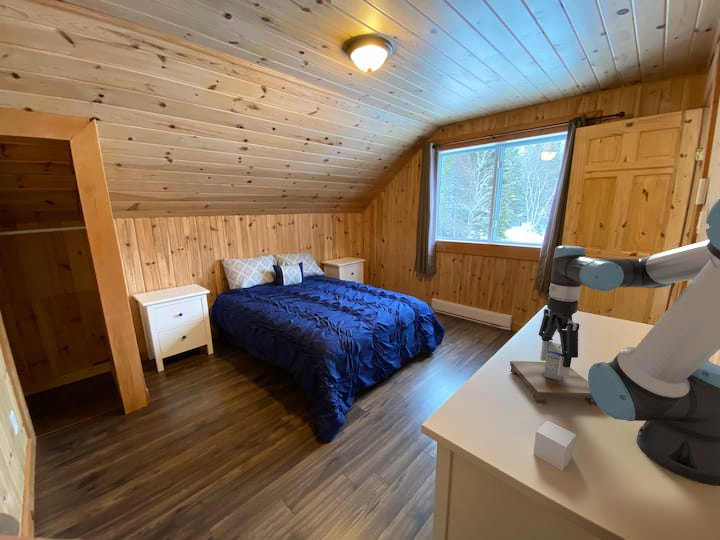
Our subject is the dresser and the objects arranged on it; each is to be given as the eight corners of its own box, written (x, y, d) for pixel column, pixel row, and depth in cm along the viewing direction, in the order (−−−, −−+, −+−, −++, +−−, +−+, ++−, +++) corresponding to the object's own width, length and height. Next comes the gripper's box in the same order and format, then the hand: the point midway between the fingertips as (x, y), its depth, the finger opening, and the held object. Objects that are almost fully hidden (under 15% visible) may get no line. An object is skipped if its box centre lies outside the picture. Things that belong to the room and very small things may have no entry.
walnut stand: (600, 406, 87) (602, 393, 87) (536, 404, 88) (538, 391, 87) (562, 373, 105) (564, 362, 104) (509, 371, 106) (510, 361, 105)
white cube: (572, 457, 69) (576, 434, 68) (562, 471, 66) (566, 447, 65) (543, 442, 74) (547, 420, 73) (533, 454, 70) (536, 431, 69)
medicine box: (544, 366, 100) (548, 341, 98) (560, 369, 98) (564, 344, 96) (543, 376, 93) (547, 350, 92) (561, 381, 91) (565, 354, 89)
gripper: (531, 288, 102) (524, 351, 106) (573, 309, 80) (562, 386, 85) (555, 288, 101) (546, 352, 106) (602, 309, 80) (589, 387, 84)
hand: (553, 367), depth 95 cm, fingers closed on medicine box, 9 cm apart
